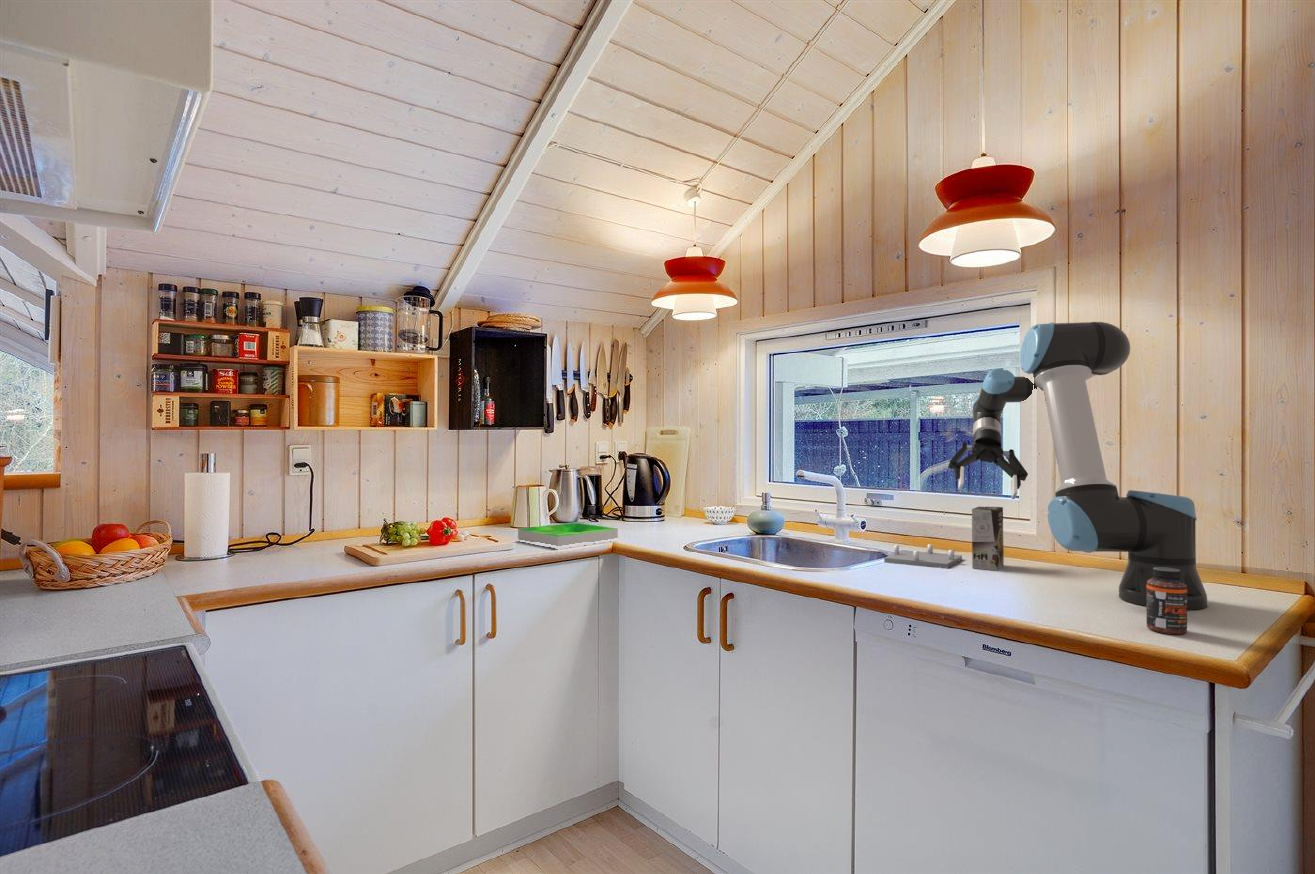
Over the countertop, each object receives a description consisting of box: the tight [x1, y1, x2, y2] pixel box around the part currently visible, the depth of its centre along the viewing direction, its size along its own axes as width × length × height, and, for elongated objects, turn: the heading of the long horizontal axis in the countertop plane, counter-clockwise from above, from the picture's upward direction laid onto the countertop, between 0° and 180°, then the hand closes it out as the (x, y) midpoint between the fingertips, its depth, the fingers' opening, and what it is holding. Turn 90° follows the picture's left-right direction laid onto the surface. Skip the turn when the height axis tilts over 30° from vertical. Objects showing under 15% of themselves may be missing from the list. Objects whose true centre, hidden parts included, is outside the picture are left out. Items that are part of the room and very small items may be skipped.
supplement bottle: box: [1146, 567, 1189, 636], centre depth 124 cm, size 6×6×11 cm
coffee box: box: [971, 506, 1005, 572], centre depth 185 cm, size 9×6×16 cm
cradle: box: [884, 543, 963, 569], centre depth 195 cm, size 16×17×4 cm
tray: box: [517, 522, 619, 546], centre depth 240 cm, size 25×25×5 cm
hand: (987, 491), depth 187 cm, fingers open, 13 cm apart
